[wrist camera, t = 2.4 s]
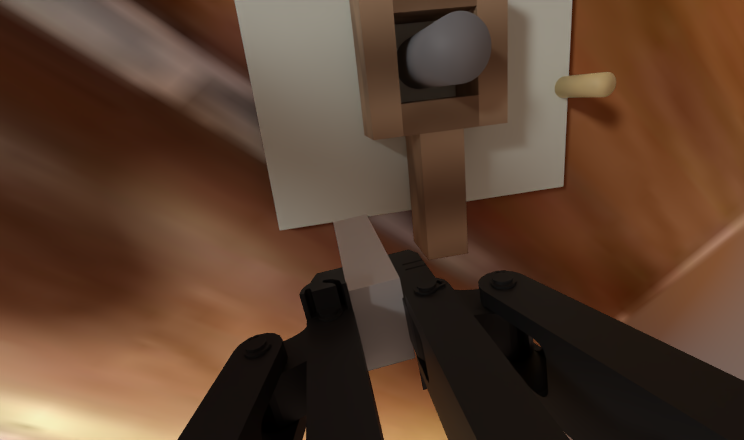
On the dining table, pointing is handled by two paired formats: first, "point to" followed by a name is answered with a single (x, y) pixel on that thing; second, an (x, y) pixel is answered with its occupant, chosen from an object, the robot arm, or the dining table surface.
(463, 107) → the wooden frame with handle
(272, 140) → the post board
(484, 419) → the robot arm
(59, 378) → the dining table surface
